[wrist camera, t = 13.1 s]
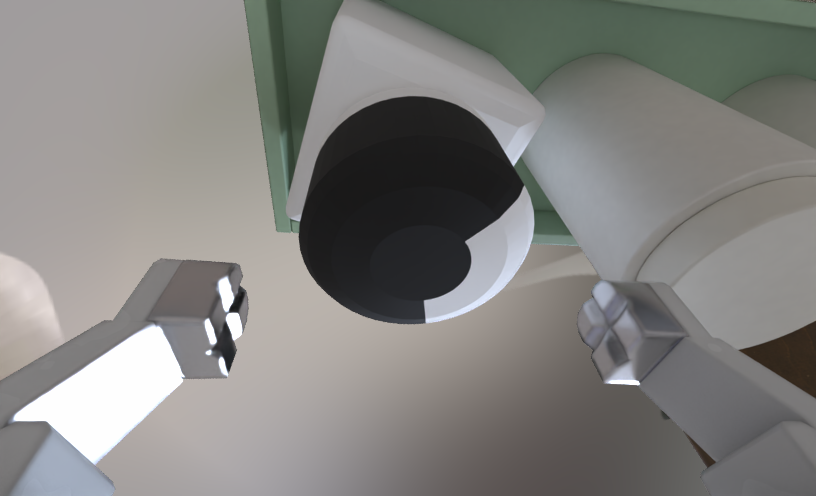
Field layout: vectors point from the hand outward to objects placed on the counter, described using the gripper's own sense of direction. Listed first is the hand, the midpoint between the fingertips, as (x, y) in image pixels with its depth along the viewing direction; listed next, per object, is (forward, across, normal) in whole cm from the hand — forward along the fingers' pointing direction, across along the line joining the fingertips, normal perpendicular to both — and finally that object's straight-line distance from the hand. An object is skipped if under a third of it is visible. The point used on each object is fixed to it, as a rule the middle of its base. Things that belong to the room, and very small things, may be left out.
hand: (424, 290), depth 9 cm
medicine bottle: (+13, 0, 0) cm, 13 cm away
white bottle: (+13, -10, 0) cm, 16 cm away
